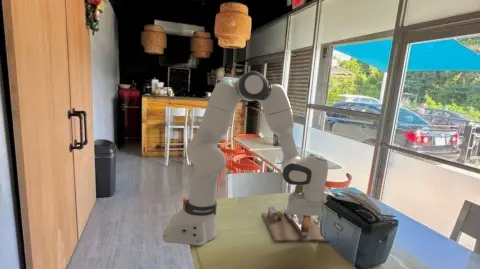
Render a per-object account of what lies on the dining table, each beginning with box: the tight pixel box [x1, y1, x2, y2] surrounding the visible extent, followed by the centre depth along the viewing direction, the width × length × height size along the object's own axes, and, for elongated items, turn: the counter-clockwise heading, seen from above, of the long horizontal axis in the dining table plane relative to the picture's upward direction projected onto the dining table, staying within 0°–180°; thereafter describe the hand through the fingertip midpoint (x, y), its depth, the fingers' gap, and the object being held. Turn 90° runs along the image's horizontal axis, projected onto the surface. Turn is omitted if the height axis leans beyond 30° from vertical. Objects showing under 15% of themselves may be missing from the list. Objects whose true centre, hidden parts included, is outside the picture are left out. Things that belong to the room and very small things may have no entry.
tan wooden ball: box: [277, 210, 284, 219], centre depth 126 cm, size 4×4×4 cm
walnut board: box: [261, 206, 325, 244], centre depth 120 cm, size 24×23×6 cm
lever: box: [283, 206, 310, 236], centre depth 121 cm, size 4×22×9 cm, turn 12°
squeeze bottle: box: [293, 185, 303, 193], centre depth 141 cm, size 8×8×18 cm
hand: (308, 224), depth 112 cm, fingers open, 6 cm apart
